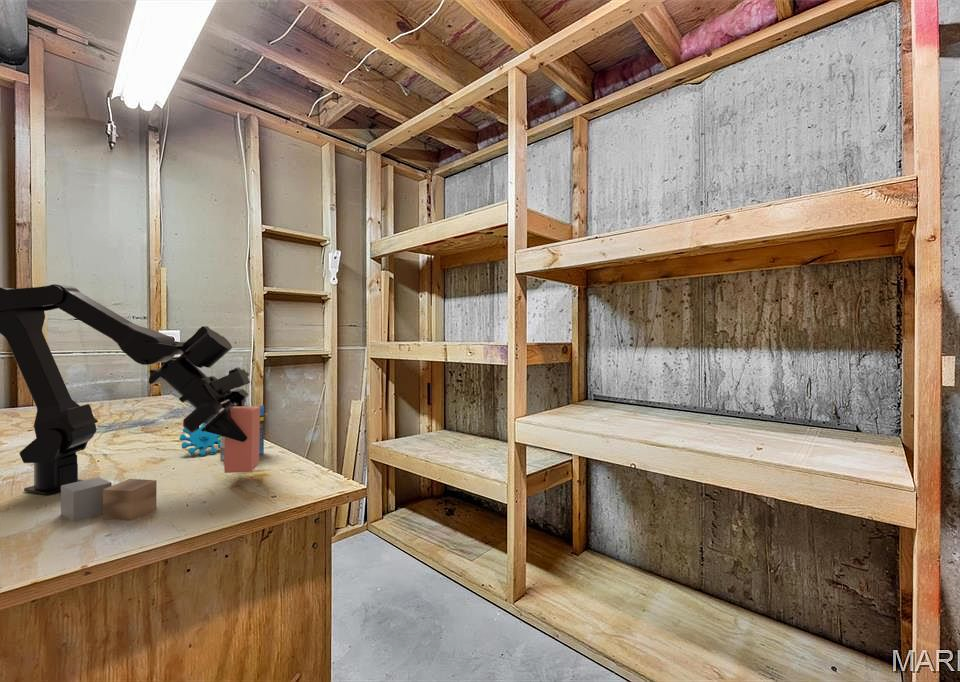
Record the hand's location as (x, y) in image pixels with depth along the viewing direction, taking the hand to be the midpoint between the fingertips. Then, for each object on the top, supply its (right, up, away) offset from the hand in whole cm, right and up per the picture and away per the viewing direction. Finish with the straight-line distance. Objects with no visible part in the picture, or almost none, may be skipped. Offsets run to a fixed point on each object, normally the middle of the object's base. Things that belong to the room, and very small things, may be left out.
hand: (250, 436), depth 89 cm
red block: (-2, -7, 0) cm, 7 cm away
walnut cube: (-12, -10, -16) cm, 22 cm away
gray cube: (-19, -9, -16) cm, 27 cm away
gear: (-21, -8, +19) cm, 29 cm away
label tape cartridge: (-10, -9, +16) cm, 20 cm away
